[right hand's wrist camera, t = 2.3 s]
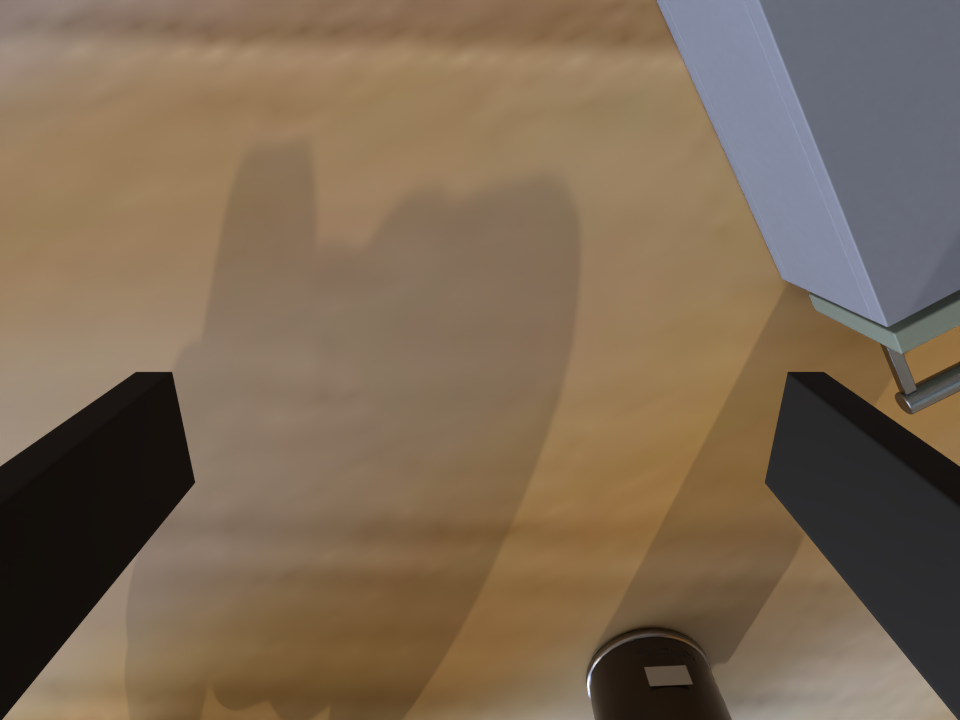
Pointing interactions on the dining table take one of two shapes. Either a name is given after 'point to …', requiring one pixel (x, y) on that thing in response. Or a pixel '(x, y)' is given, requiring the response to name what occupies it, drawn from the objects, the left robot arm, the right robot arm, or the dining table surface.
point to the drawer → (907, 346)
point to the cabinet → (839, 138)
